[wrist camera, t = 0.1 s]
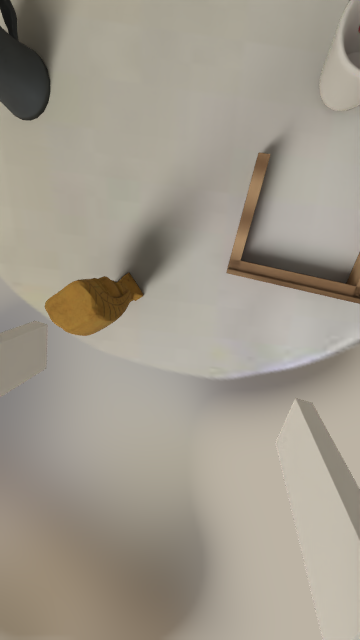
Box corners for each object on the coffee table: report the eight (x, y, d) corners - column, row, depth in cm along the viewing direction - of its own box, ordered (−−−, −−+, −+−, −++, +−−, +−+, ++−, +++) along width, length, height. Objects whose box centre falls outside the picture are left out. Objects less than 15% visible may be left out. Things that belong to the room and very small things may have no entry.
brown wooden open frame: (256, 161, 32) (259, 150, 29) (402, 184, 30) (424, 176, 26) (226, 271, 37) (226, 273, 34) (350, 299, 35) (363, 304, 31)
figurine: (131, 268, 40) (78, 276, 26) (151, 300, 41) (110, 324, 27) (102, 287, 43) (39, 304, 28) (121, 317, 43) (69, 348, 29)
